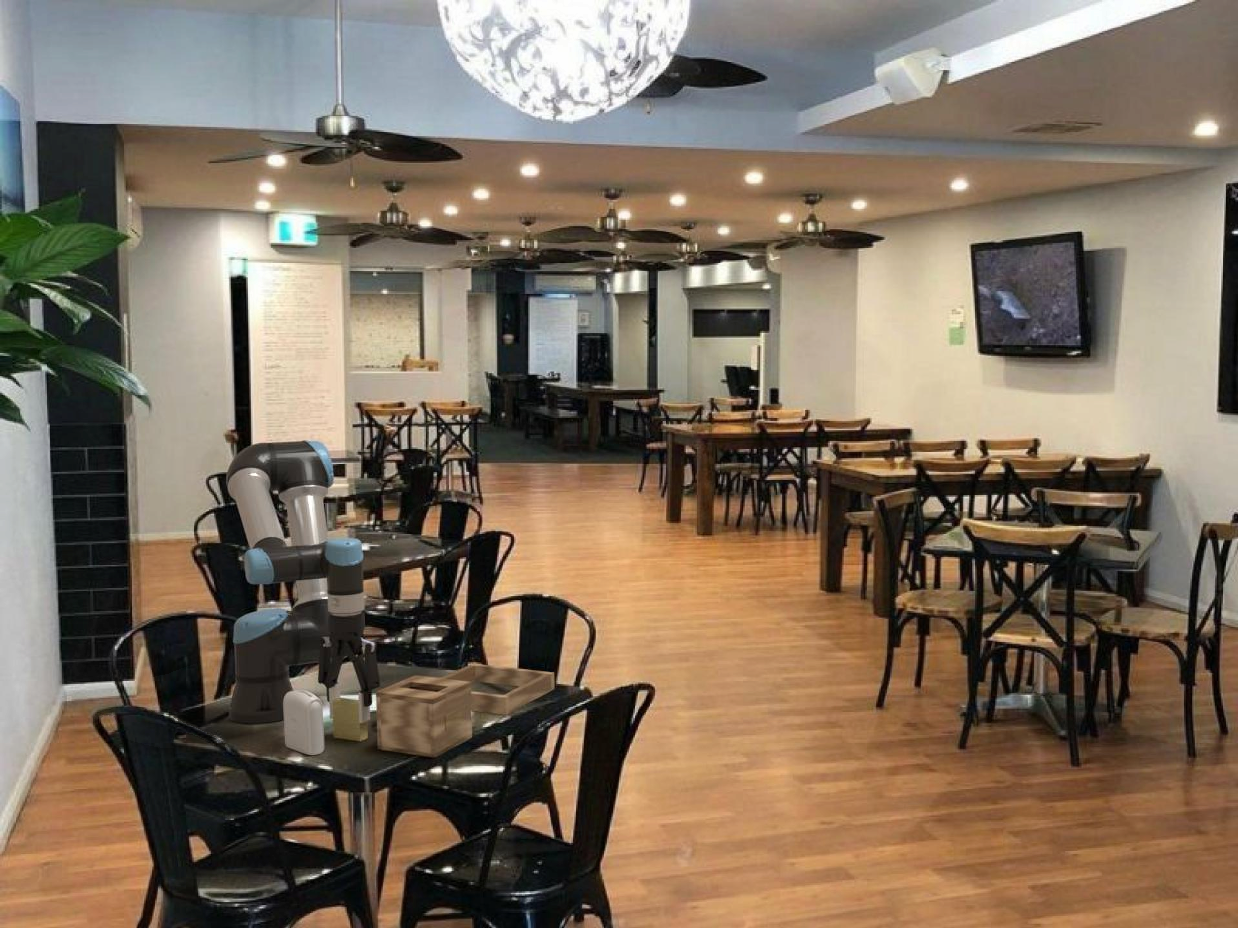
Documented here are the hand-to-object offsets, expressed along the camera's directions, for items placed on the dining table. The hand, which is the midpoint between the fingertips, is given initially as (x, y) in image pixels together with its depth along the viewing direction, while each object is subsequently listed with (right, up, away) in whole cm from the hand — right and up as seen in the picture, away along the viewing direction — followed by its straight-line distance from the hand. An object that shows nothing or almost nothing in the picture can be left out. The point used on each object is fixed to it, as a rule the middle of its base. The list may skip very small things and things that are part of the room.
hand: (349, 718), depth 253 cm
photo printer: (-8, -5, -7) cm, 12 cm away
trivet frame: (+26, -1, +30) cm, 40 cm away
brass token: (0, -4, 0) cm, 4 cm away
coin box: (+17, -4, -4) cm, 18 cm away
